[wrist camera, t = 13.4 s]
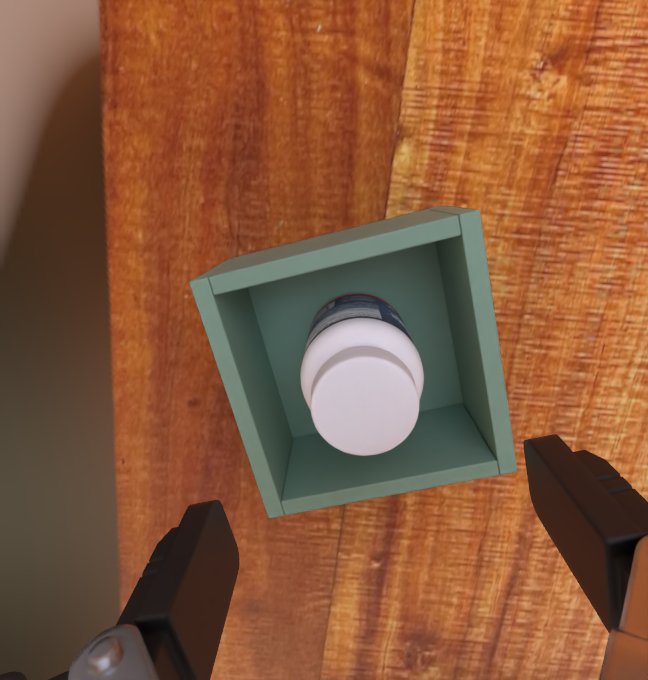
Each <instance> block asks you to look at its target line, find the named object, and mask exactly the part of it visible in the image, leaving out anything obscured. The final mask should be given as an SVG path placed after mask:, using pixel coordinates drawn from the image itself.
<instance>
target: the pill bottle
mask: <svg viewBox="0 0 648 680" xmlns="http://www.w3.org/2000/svg"><path fill="white" fill-rule="evenodd" d="M300 377H301V388H302V392H303V395H304V398H305V400H306V402H307V405H308V406H309V408H310V410H311V416H312V419H313V422H314V425H315V427H316V429H317V430H318V432H319V433H320V435H321V436H322V437H323V438H324V439H325V440H326V441H327V442H328V443H329V444H330V445H332V446H333V447H335V448H337V449H339V450H341V451H343V452H346V453H349V454H353V455H361V456H367V455H376V454H380V453H383V452H386V451H389V450H391V449H393V448H394V447H396V446H397V445H399V444H400V443H401V442H403V441H404V440H405V439H406V438H407V437H408V435H409V434H410V433H411V431H412V430H413V428H414V426H415V424H416V421H417V418H418V414H419V400H420V397H421V394H422V390H423V384H424V372H423V366H422V362H421V359H420V355H419V353H418V351H417V349H416V347H415V345H414V343H413V341H412V338H411V336H410V334H409V332H408V330H407V329H406V327H405V325H404V322H403V320H402V318H401V317H400V315H399V314H398V312H397V311H396V310H395V309H394V307H393V306H392V305H390V304H389V303H388V302H387V301H385V300H384V299H382V298H380V297H378V296H375V295H372V294H368V293H360V292H356V293H348V294H343V295H340V296H338V297H336V298H334V299H332V300H330V301H329V302H327V303H326V304H325V305H324V306H323V307H322V308H321V309H320V310H319V311H318V313H317V314H316V316H315V317H314V319H313V321H312V324H311V326H310V329H309V334H308V338H307V343H306V347H305V352H304V356H303V359H302V365H301V374H300Z"/></svg>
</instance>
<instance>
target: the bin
mask: <svg viewBox="0 0 648 680" xmlns="http://www.w3.org/2000/svg"><path fill="white" fill-rule="evenodd" d="M189 283H190V286H191V289H192V292H193V295H194V298H195V301H196V304H197V307H198V310H199V313H200V316H201V319H202V322H203V325H204V328H205V331H206V334H207V337H208V340H209V343H210V346H211V349H212V352H213V355H214V358H215V361H216V364H217V367H218V370H219V373H220V375H221V378H222V381H223V384H224V387H225V390H226V393H227V396H228V399H229V402H230V405H231V408H232V411H233V414H234V417H235V420H236V423H237V426H238V429H239V432H240V435H241V438H242V441H243V444H244V447H245V450H246V453H247V456H248V459H249V462H250V465H251V468H252V471H253V474H254V477H255V480H256V482H257V485H258V488H259V491H260V494H261V497H262V500H263V503H264V506H265V509H266V512H267V515H268V518H275V517H280V516H284V514H285V515H290V514H295V513H300V512H305V511H311V510H316V509H321V508H327V507H332V506H337V505H343V504H348V503H353V502H359V501H364V500H369V499H375V498H380V497H385V496H390V495H396V494H401V493H406V492H412V491H417V490H422V489H428V488H433V487H438V486H444V485H449V484H454V483H460V482H465V481H470V480H475V479H481V478H486V477H491V476H497V475H499V474H500V475H503V474H508V473H514V472H517V463H516V457H515V450H514V443H513V436H512V429H511V422H510V415H509V408H508V401H507V394H506V388H505V381H504V374H503V367H502V360H501V353H500V346H499V339H498V332H497V325H496V318H495V312H494V305H493V298H492V291H491V284H490V277H489V270H488V263H487V256H486V249H485V243H484V236H483V229H482V222H481V215H480V210H477V209H468V208H460V207H451V206H437V207H433V208H429V209H425V210H421V211H417V212H413V213H409V214H405V215H401V216H397V217H393V218H389V219H385V220H381V221H377V222H373V223H369V224H365V225H361V226H357V227H353V228H349V229H345V230H341V231H337V232H333V233H329V234H325V235H321V236H317V237H314V238H310V239H306V240H302V241H298V242H294V243H290V244H286V245H282V246H278V247H274V248H270V249H266V250H262V251H258V252H254V253H250V254H246V255H242V256H238V257H234V258H230V259H228V260H226V261H224V262H222V263H221V264H219V265H217V266H216V267H214V268H212V269H210V270H209V271H207V272H205V273H203V274H202V275H200V276H198V277H197V278H195V279H193V280H191V281H190V282H189ZM356 292H360V293H368V294H372V295H375V296H378V297H380V298H382V299H384V300H385V301H387V302H388V303H389V304H390V305H392V306H393V307H394V309H395V310H396V311H397V312H398V314H399V315H400V317H401V318H402V320H403V322H404V325H405V327H406V329H407V330H408V332H409V334H410V336H411V338H412V341H413V343H414V345H415V347H416V349H417V351H418V353H419V355H420V359H421V362H422V366H423V372H424V384H423V390H422V394H421V397H420V400H419V414H418V418H417V421H416V424H415V426H414V428H413V430H412V431H411V433H410V434H409V435H408V437H407V438H406V439H405V440H404V441H403V442H401V443H400V444H399V445H397V446H396V447H394V448H393V449H391V450H389V451H386V452H383V453H380V454H376V455H367V456H361V455H353V454H349V453H346V452H343V451H341V450H339V449H337V448H335V447H333V446H332V445H330V444H329V443H328V442H327V441H326V440H325V439H324V438H323V437H322V436H321V435H320V433H319V432H318V430H317V429H316V427H315V425H314V422H313V419H312V416H311V410H310V408H309V406H308V405H307V402H306V400H305V398H304V395H303V392H302V388H301V377H300V374H301V365H302V359H303V356H304V352H305V347H306V343H307V338H308V334H309V329H310V326H311V324H312V321H313V319H314V317H315V316H316V314H317V313H318V311H319V310H320V309H321V308H322V307H323V306H324V305H325V304H326V303H327V302H329V301H330V300H332V299H334V298H336V297H338V296H340V295H343V294H348V293H356Z"/></svg>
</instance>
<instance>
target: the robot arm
mask: <svg viewBox="0 0 648 680" xmlns="http://www.w3.org/2000/svg"><path fill="white" fill-rule="evenodd" d="M524 453H525V460H526V468H527V475H528V483H529V490H530V496H531V500H532V503H533V506H534V509H535V511H536V513H537V515H538V517H539V519H540V521H541V522H542V524H543V526H544V527H545V529H546V531H547V532H548V534H549V536H550V537H551V539H552V540H553V542H554V544H555V545H556V547H557V549H558V550H559V552H560V553H561V555H562V557H563V558H564V560H565V562H566V563H567V565H568V567H569V568H570V570H571V571H572V573H573V575H574V576H575V578H576V580H577V581H578V583H579V584H580V586H581V588H582V589H583V591H584V593H585V594H586V596H587V598H588V599H589V601H590V602H591V604H592V606H593V607H594V609H595V611H596V612H597V614H598V616H599V617H600V619H601V620H602V622H603V624H604V625H605V627H606V629H607V630H608V632H609V633H610V635H609V638H608V642H607V647H606V651H605V656H604V660H603V665H602V669H601V674H600V678H599V680H648V502H647V501H646V500H645V499H644V498H643V497H642V496H641V495H640V494H639V493H638V492H637V491H636V490H635V489H632V486H631V485H630V484H629V483H628V482H627V481H626V480H625V479H624V478H623V477H621V476H620V474H619V473H618V472H617V471H616V470H615V469H614V468H613V467H612V466H611V465H610V464H609V463H608V462H607V461H606V460H605V459H602V458H600V457H598V456H596V455H594V454H592V453H590V452H588V451H586V450H582V451H577V452H572V450H571V449H570V448H569V447H568V446H567V445H566V444H565V443H564V442H563V440H562V439H561V438H560V437H559V436H558V435H556V434H554V435H548V436H543V437H538V438H533V439H528V440H525V441H524ZM238 570H239V552H238V547H237V544H236V541H235V538H234V536H233V533H232V530H231V528H230V525H229V522H228V519H227V517H226V514H225V511H224V509H223V506H222V504H221V502H220V501H219V500H213V501H208V502H203V503H197V504H192V505H190V506H189V507H188V508H187V510H186V512H185V514H184V516H183V518H182V520H181V522H180V524H179V527H175V528H172V529H171V530H170V531H169V532H168V533H167V534H166V535H165V536H164V537H163V539H162V540H161V541H160V542H159V543H158V544H157V546H156V548H155V550H154V552H153V554H152V556H151V558H150V560H149V563H148V564H147V566H146V567H145V569H144V571H143V573H142V575H143V576H142V577H140V579H139V581H138V583H137V585H136V587H135V589H134V591H133V593H132V595H131V597H130V599H129V601H128V603H127V605H126V607H125V609H124V610H123V612H122V614H121V616H120V618H119V620H118V622H117V624H116V626H114V627H111V628H109V629H107V630H105V631H103V632H102V633H100V634H99V635H97V636H96V637H94V638H93V639H92V640H91V641H90V642H88V643H87V645H85V646H84V647H83V649H82V650H81V651H80V652H79V654H78V655H77V656H76V658H75V659H74V661H73V663H72V665H71V668H70V670H69V671H67V672H64V673H62V674H60V675H58V676H56V677H53V678H51V679H49V680H210V677H211V674H212V670H213V666H214V662H215V658H216V655H217V651H218V647H219V643H220V639H221V635H222V632H223V628H224V624H225V620H226V616H227V613H228V609H229V605H230V601H231V597H232V594H233V590H234V586H235V582H236V578H237V575H238ZM0 680H27V679H26V677H25V675H23V674H22V673H20V672H9V673H6V674H2V675H0Z"/></svg>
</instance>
